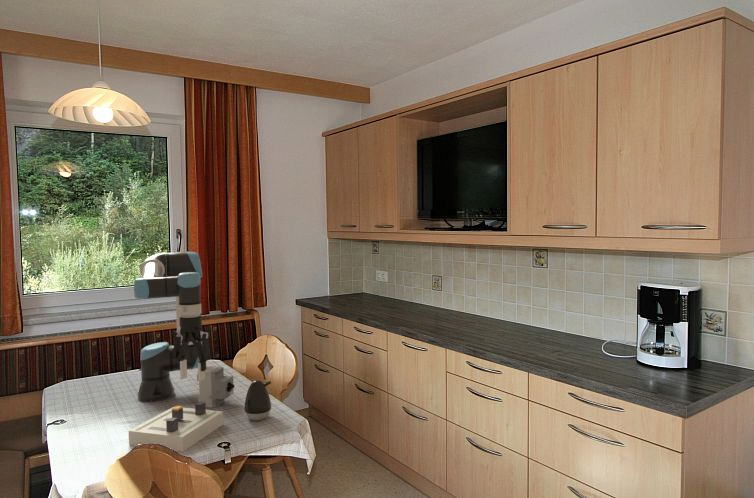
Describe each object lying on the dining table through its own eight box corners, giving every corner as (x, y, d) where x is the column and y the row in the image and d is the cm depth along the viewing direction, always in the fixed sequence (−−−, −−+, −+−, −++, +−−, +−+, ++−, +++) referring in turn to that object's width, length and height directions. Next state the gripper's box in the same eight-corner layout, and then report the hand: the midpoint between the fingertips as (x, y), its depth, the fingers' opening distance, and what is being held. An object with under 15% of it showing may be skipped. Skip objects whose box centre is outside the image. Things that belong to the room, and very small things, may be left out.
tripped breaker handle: (172, 420, 185) (171, 408, 185) (177, 417, 188) (177, 405, 188) (177, 421, 184) (177, 409, 184) (183, 418, 187) (182, 406, 187)
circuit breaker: (229, 408, 212) (228, 372, 211) (198, 406, 215) (196, 371, 214) (237, 401, 220) (236, 367, 219) (207, 400, 222) (206, 366, 222)
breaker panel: (129, 444, 178) (128, 419, 178) (174, 419, 201) (173, 396, 201) (182, 451, 172) (181, 425, 171) (223, 424, 195) (222, 401, 194)
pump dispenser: (272, 421, 197) (271, 383, 196) (244, 424, 195) (243, 385, 194) (271, 412, 207) (270, 375, 206) (245, 414, 205) (244, 377, 204)
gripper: (160, 316, 181) (162, 380, 183) (208, 318, 176) (210, 384, 177) (174, 312, 189) (176, 374, 190) (220, 314, 183) (222, 377, 184)
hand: (192, 378), depth 183 cm, fingers open, 7 cm apart
